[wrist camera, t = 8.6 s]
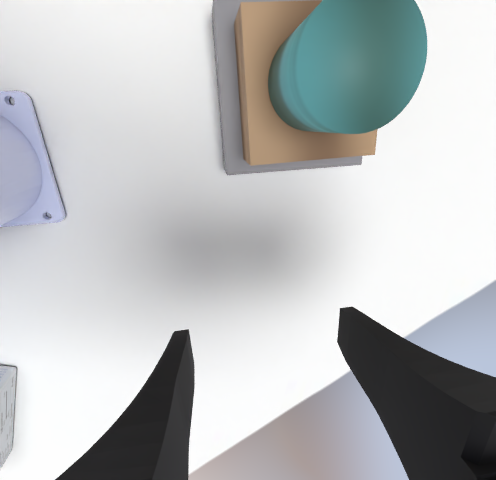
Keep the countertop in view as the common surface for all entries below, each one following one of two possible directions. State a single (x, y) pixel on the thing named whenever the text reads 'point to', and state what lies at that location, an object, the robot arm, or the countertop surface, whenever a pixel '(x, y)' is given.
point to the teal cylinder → (349, 66)
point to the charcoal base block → (227, 79)
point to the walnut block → (257, 96)
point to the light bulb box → (6, 410)
